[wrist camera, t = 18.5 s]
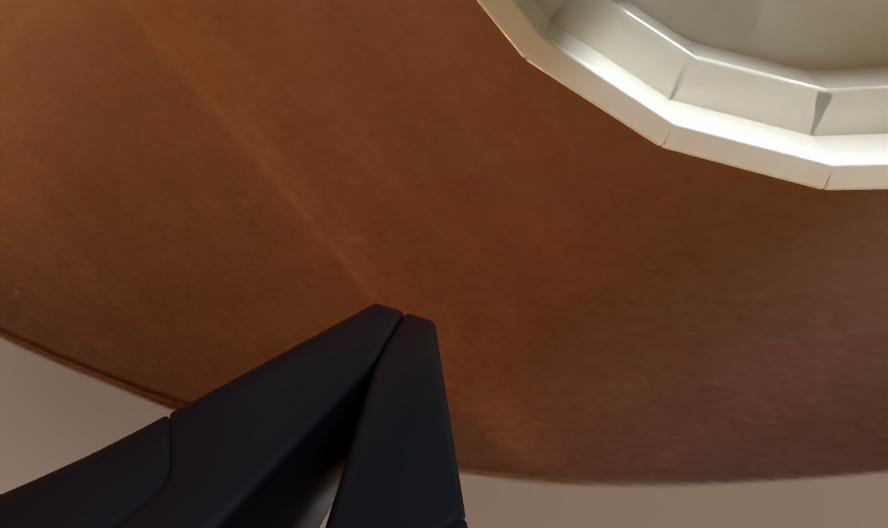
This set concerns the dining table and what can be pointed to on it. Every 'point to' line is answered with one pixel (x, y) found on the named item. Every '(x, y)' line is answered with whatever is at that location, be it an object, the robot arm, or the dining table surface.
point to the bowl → (727, 77)
